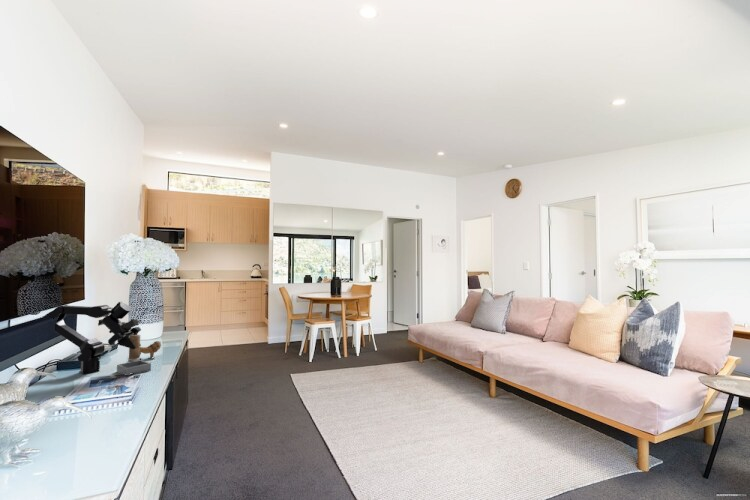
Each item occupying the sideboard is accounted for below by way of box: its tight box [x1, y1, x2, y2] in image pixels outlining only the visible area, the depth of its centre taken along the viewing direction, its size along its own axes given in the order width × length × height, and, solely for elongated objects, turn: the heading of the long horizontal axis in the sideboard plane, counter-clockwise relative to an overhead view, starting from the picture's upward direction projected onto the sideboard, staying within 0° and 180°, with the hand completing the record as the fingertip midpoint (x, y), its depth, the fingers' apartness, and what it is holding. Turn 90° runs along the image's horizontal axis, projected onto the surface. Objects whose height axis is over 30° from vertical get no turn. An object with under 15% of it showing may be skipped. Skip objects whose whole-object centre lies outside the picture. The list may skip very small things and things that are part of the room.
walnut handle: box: [127, 334, 141, 363], centre depth 178 cm, size 5×5×12 cm
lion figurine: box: [139, 340, 162, 359], centre depth 202 cm, size 15×5×9 cm, turn 132°
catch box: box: [116, 360, 152, 375], centre depth 178 cm, size 11×11×4 cm
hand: (137, 347), depth 178 cm, fingers closed on walnut handle, 4 cm apart
